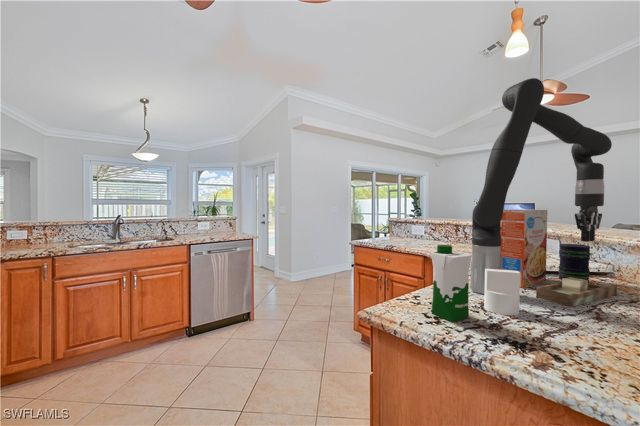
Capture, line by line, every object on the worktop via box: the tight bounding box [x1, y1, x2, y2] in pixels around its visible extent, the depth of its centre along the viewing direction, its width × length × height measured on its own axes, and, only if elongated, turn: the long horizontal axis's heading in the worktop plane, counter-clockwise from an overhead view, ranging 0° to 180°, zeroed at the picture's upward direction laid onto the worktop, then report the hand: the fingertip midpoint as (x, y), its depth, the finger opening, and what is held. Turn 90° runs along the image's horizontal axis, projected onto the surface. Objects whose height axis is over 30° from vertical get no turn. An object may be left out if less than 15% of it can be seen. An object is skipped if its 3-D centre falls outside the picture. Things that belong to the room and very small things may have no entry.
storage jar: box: [558, 243, 591, 283], centre depth 120 cm, size 10×10×15 cm
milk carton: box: [430, 244, 472, 323], centre depth 81 cm, size 9×9×20 cm
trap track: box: [535, 278, 618, 308], centre depth 99 cm, size 30×10×4 cm, turn 114°
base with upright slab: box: [483, 269, 521, 316], centre depth 86 cm, size 9×9×12 cm
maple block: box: [561, 277, 589, 293], centre depth 99 cm, size 5×5×4 cm
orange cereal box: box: [501, 209, 548, 290], centre depth 118 cm, size 23×8×30 cm, turn 124°
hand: (587, 240), depth 102 cm, fingers open, 3 cm apart
